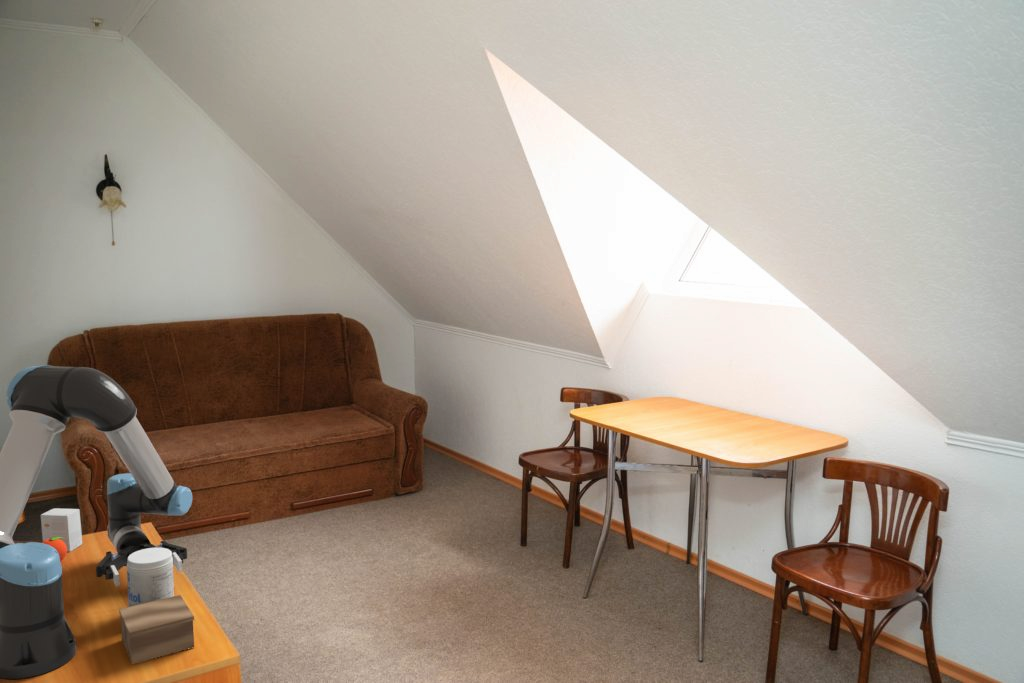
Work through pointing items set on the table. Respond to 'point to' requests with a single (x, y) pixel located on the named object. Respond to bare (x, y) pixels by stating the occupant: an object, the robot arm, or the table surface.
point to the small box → (62, 526)
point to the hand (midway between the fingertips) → (149, 573)
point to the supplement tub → (149, 575)
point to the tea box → (157, 628)
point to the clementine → (57, 546)
